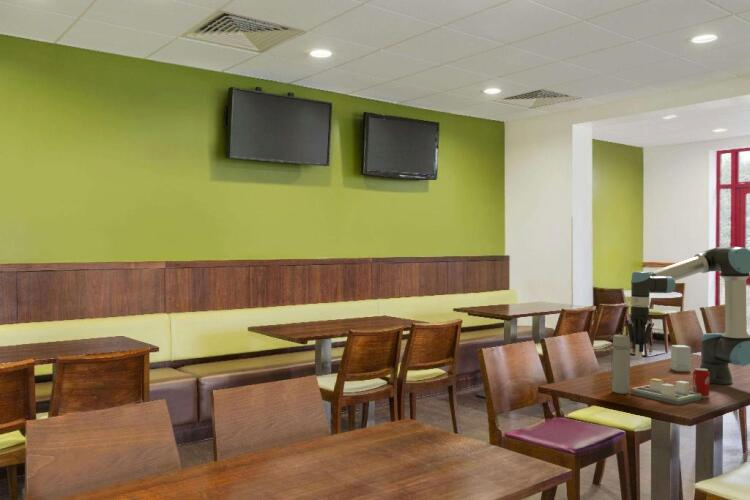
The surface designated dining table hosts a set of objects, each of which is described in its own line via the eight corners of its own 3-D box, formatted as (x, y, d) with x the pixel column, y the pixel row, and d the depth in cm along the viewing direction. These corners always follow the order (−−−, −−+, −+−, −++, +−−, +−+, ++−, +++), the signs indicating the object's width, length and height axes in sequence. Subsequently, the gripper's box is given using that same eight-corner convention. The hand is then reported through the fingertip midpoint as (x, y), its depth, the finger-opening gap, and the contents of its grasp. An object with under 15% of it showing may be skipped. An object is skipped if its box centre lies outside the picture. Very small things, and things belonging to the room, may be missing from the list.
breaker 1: (666, 395, 276) (666, 383, 276) (675, 397, 272) (675, 385, 272) (661, 396, 273) (661, 384, 273) (670, 398, 270) (670, 386, 270)
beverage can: (710, 398, 277) (711, 370, 277) (695, 397, 278) (695, 370, 278) (706, 395, 283) (707, 367, 283) (690, 394, 284) (691, 367, 284)
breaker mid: (654, 389, 286) (655, 378, 286) (663, 391, 283) (663, 379, 282) (649, 390, 284) (649, 379, 284) (658, 392, 280) (658, 380, 280)
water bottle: (630, 391, 289) (631, 335, 288) (629, 395, 282) (630, 337, 281) (608, 389, 293) (609, 333, 292) (606, 392, 285) (607, 336, 285)
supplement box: (690, 371, 336) (691, 347, 335) (676, 371, 336) (676, 347, 335) (684, 368, 343) (684, 344, 343) (670, 368, 343) (670, 344, 343)
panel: (653, 389, 293) (653, 383, 293) (701, 399, 275) (701, 393, 275) (630, 393, 284) (630, 388, 284) (678, 404, 266) (678, 398, 266)
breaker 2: (680, 392, 282) (680, 380, 282) (689, 394, 278) (689, 382, 278) (675, 393, 279) (675, 381, 279) (684, 395, 276) (684, 383, 276)
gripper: (622, 305, 293) (620, 357, 293) (648, 307, 282) (646, 362, 283) (632, 304, 297) (630, 355, 298) (658, 307, 287) (656, 360, 287)
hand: (638, 358), depth 290 cm, fingers closed
